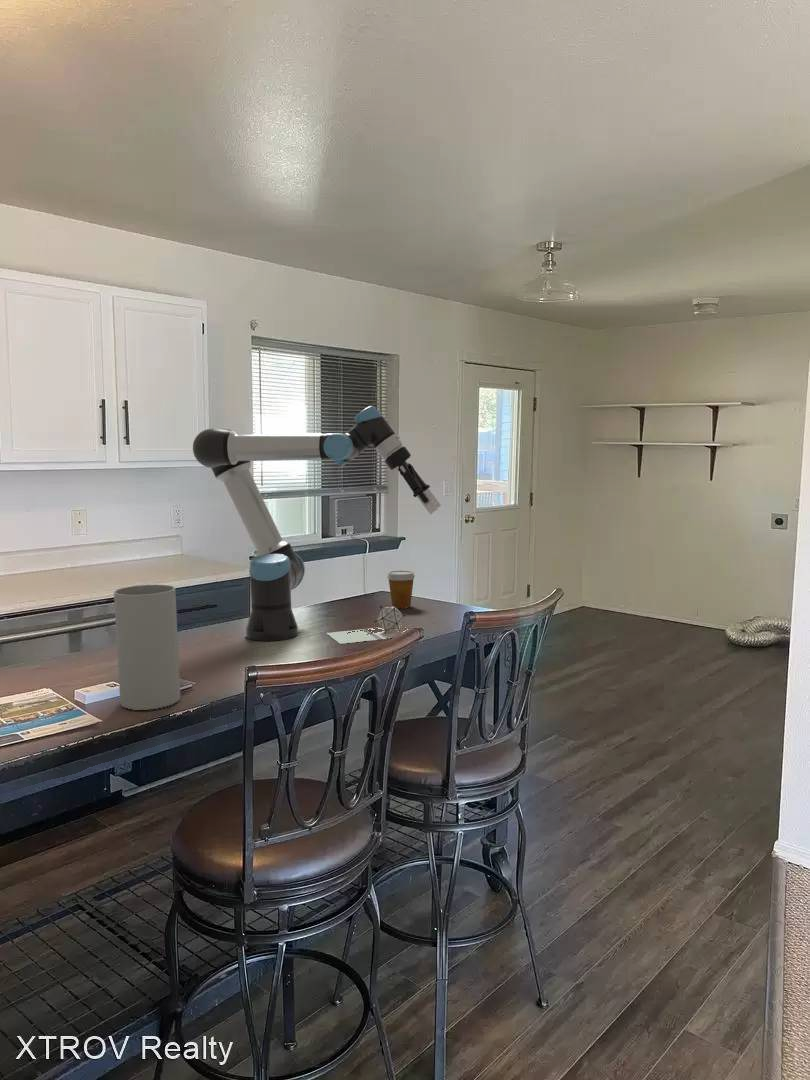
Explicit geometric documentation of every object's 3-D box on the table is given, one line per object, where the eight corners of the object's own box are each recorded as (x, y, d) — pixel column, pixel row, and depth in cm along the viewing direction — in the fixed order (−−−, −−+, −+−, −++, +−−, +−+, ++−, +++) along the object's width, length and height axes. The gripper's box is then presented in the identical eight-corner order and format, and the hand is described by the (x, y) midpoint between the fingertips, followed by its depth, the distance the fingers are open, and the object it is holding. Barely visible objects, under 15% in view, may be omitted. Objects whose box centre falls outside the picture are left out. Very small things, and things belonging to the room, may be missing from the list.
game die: (395, 644, 232) (405, 622, 226) (368, 634, 232) (377, 612, 225) (401, 624, 239) (411, 602, 233) (375, 614, 239) (384, 592, 232)
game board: (340, 644, 219) (340, 643, 219) (325, 633, 232) (325, 633, 232) (418, 635, 228) (418, 635, 228) (400, 625, 241) (400, 625, 241)
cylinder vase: (191, 701, 171) (186, 588, 168) (139, 716, 162) (133, 597, 159) (161, 690, 179) (155, 582, 176) (109, 703, 170) (103, 590, 167)
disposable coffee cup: (419, 605, 272) (419, 571, 270) (407, 610, 263) (406, 575, 262) (395, 603, 276) (395, 569, 275) (382, 608, 268) (382, 573, 266)
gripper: (398, 445, 221) (443, 505, 221) (408, 445, 245) (448, 499, 246) (377, 461, 222) (422, 520, 223) (389, 459, 247) (429, 513, 247)
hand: (435, 509), depth 234 cm, fingers open, 13 cm apart
